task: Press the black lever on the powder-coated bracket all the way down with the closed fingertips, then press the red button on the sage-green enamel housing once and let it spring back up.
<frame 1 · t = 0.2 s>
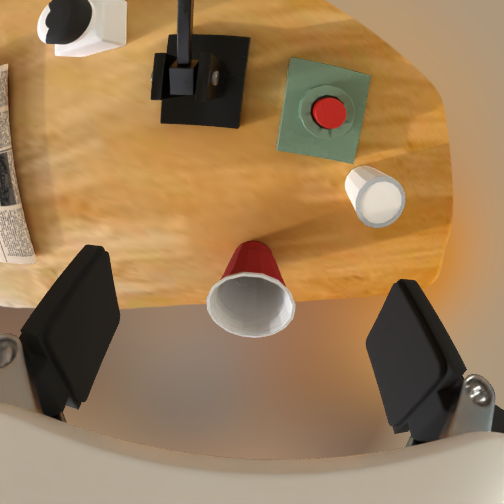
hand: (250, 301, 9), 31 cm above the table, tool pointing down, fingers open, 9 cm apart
bracket: (204, 79, 32), on the table
button: (329, 112, 30), point 4 cm above the table, slide at 0.1 cm
lever: (184, 30, 19), point 13 cm above the table, hinge at 25.0°
button box: (321, 109, 34), on the table
plastic cup: (251, 256, 46), on the table
white cup: (363, 183, 39), on the table
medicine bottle: (104, 29, 27), on the table
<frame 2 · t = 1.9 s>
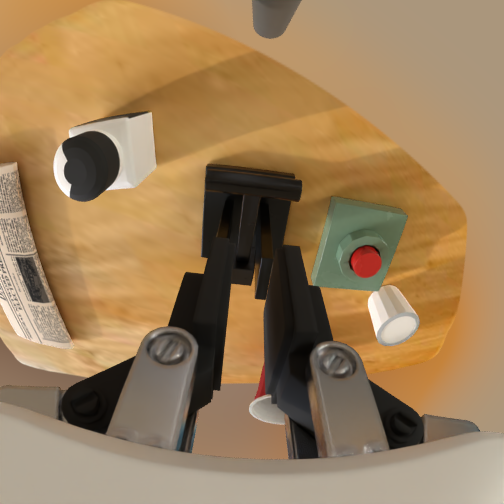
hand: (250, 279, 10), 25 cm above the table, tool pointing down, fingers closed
bracket: (245, 215, 36), on the table
button: (366, 261, 34), point 4 cm above the table, slide at 0.1 cm
lever: (245, 234, 23), point 13 cm above the table, hinge at 25.0°
button box: (356, 243, 38), on the table
plastic cup: (281, 353, 50), on the table
newspaper: (11, 261, 41), on the table
white cup: (383, 298, 43), on the table
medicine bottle: (128, 142, 32), on the table
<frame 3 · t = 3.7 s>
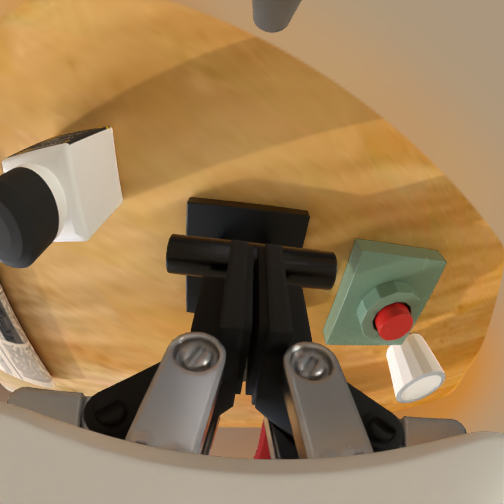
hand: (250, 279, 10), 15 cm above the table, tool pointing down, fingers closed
bracket: (241, 262, 28), on the table
button: (394, 321, 26), point 4 cm above the table, slide at 0.1 cm
lever: (240, 326, 15), point 12 cm above the table, hinge at 18.0°, touching gripper
button box: (380, 292, 30), on the table
plastic cup: (284, 402, 42), on the table
white cup: (404, 346, 35), on the table
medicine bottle: (86, 168, 23), on the table
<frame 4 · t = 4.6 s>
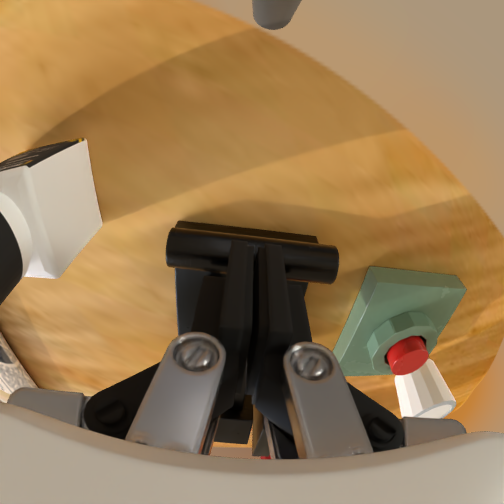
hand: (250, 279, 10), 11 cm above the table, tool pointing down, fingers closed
bracket: (239, 293, 24), on the table
button: (407, 355, 22), point 4 cm above the table, slide at 0.1 cm
lever: (238, 361, 13), point 10 cm above the table, hinge at -6.9°, touching gripper
button box: (392, 321, 26), on the table
white cup: (414, 371, 31), on the table
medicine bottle: (61, 186, 19), on the table
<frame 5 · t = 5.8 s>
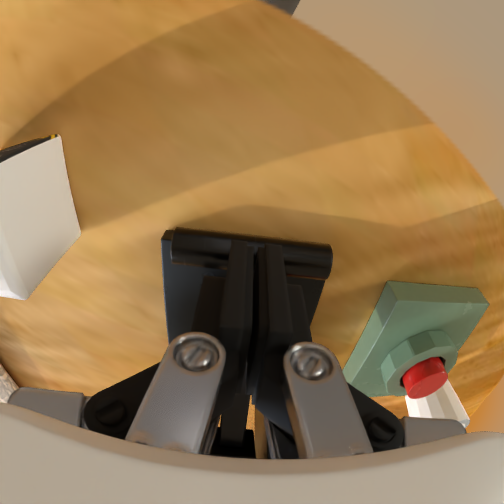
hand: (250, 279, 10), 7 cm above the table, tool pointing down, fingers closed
bracket: (238, 311, 21), on the table
button: (425, 378, 19), point 4 cm above the table, slide at 0.1 cm
lever: (237, 382, 12), point 9 cm above the table, hinge at -30.8°, touching gripper
button box: (408, 338, 23), on the table
white cup: (425, 387, 28), on the table
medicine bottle: (36, 189, 16), on the table
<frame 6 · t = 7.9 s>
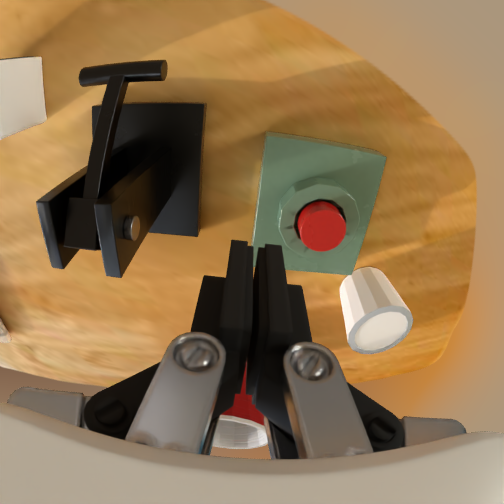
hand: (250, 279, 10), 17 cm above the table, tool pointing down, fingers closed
bracket: (147, 167, 25), on the table
button: (321, 226, 23), point 4 cm above the table, slide at 0.1 cm
lever: (102, 147, 15), point 9 cm above the table, hinge at -30.8°
button box: (312, 203, 27), on the table
plastic cup: (229, 357, 39), on the table
white cup: (362, 286, 32), on the table
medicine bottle: (22, 96, 20), on the table
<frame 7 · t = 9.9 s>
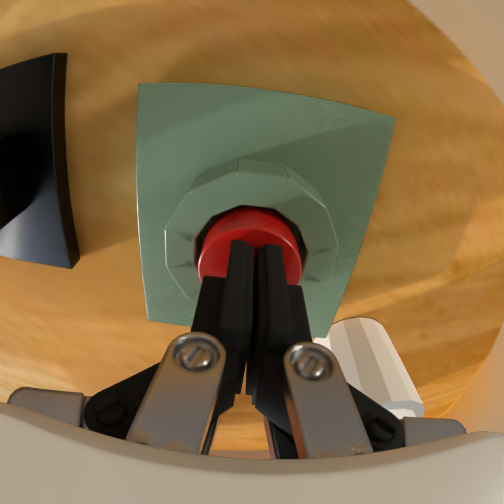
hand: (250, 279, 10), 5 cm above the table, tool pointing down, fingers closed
bracket: (8, 165, 13), on the table
button: (250, 260, 11), point 4 cm above the table, slide at -0.2 cm, touching gripper
button box: (251, 213, 15), on the table
white cup: (348, 343, 20), on the table
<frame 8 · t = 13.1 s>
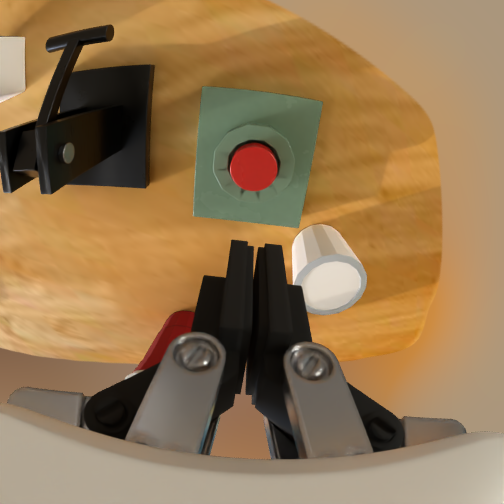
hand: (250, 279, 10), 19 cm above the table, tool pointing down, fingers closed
bracket: (104, 126, 25), on the table
button: (253, 166, 23), point 4 cm above the table, slide at 0.1 cm
lever: (54, 94, 15), point 9 cm above the table, hinge at -30.8°
button box: (254, 154, 27), on the table
plastic cup: (187, 325, 38), on the table
white cup: (317, 246, 32), on the table
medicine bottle: (7, 72, 20), on the table
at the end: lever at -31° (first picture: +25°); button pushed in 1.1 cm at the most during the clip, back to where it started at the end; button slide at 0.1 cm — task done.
